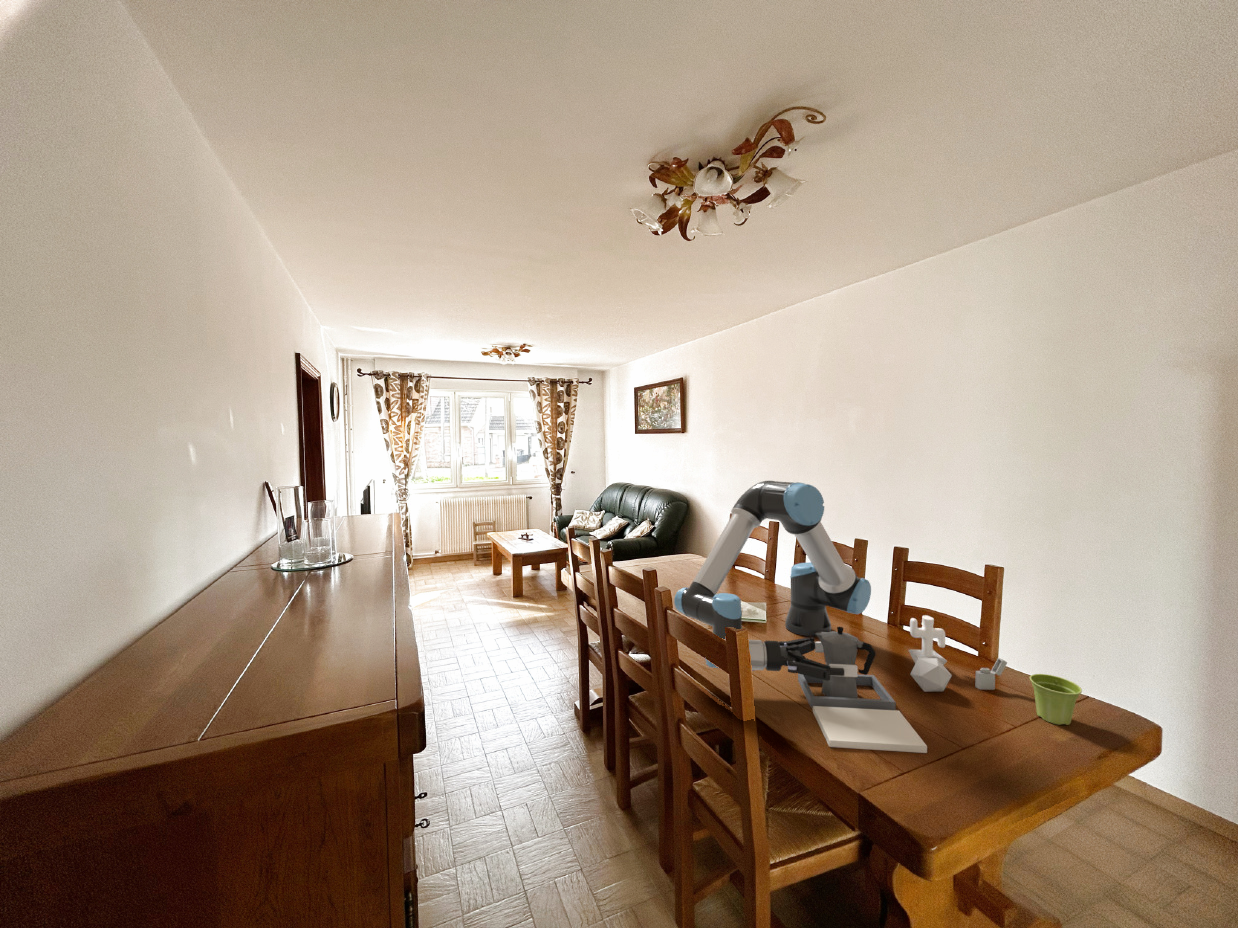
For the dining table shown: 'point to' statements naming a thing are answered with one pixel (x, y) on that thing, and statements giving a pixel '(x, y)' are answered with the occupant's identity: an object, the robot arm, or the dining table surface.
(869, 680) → the rimmed stand
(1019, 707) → the dining table surface
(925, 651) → the figurine
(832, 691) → the coffeepot
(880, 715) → the trivet
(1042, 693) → the plant pot
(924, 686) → the die
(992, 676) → the lighter
